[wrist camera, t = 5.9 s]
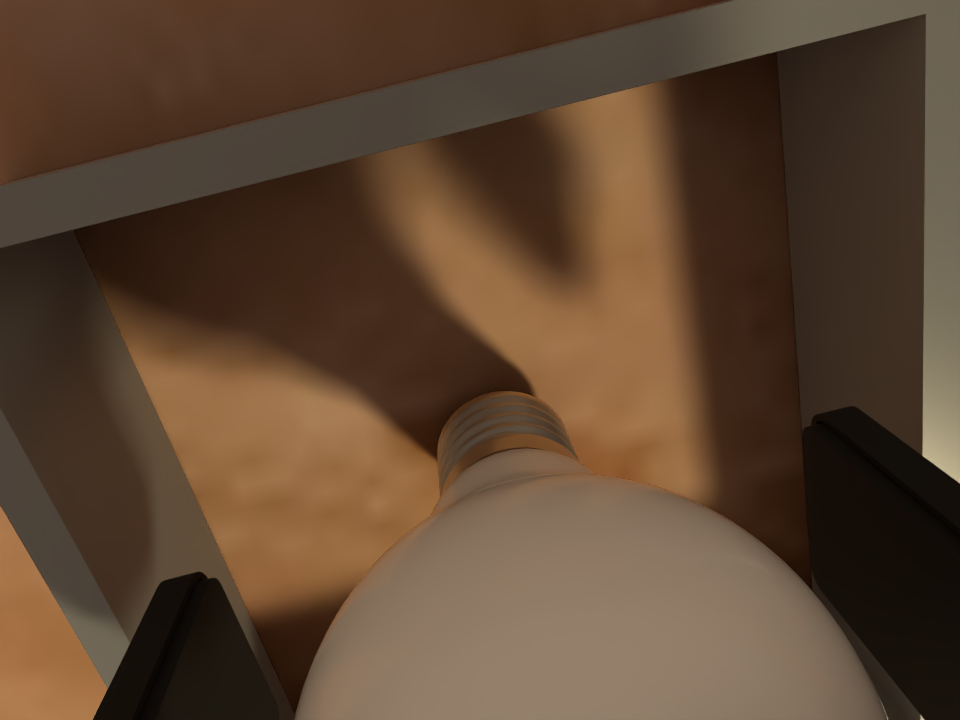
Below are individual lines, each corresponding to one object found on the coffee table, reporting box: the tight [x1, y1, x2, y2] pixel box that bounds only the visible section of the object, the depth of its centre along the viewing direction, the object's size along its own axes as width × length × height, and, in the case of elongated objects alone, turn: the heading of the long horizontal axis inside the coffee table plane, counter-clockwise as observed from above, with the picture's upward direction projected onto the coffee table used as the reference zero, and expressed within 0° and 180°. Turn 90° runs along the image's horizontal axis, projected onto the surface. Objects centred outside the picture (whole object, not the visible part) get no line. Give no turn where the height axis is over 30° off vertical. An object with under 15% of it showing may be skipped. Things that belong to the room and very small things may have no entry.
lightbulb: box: [294, 391, 888, 720], centre depth 10 cm, size 6×6×11 cm
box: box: [0, 0, 960, 720], centre depth 13 cm, size 14×14×4 cm
